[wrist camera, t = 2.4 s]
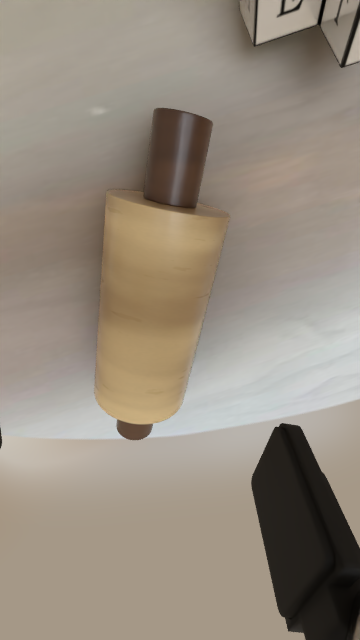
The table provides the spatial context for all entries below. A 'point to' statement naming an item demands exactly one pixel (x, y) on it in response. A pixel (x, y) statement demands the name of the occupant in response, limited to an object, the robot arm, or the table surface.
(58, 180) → the table surface
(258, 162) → the table surface
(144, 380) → the rolling pin
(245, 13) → the building blocks
